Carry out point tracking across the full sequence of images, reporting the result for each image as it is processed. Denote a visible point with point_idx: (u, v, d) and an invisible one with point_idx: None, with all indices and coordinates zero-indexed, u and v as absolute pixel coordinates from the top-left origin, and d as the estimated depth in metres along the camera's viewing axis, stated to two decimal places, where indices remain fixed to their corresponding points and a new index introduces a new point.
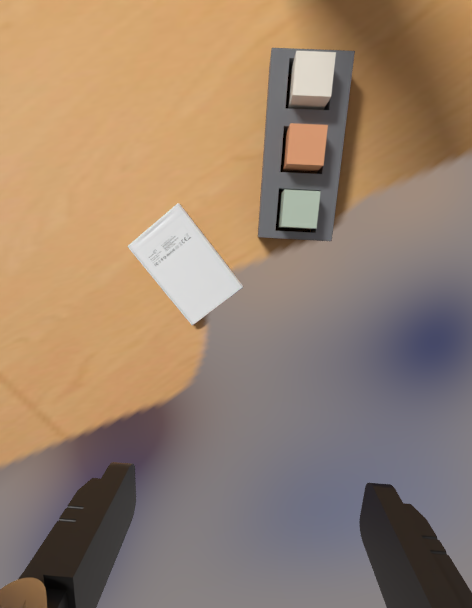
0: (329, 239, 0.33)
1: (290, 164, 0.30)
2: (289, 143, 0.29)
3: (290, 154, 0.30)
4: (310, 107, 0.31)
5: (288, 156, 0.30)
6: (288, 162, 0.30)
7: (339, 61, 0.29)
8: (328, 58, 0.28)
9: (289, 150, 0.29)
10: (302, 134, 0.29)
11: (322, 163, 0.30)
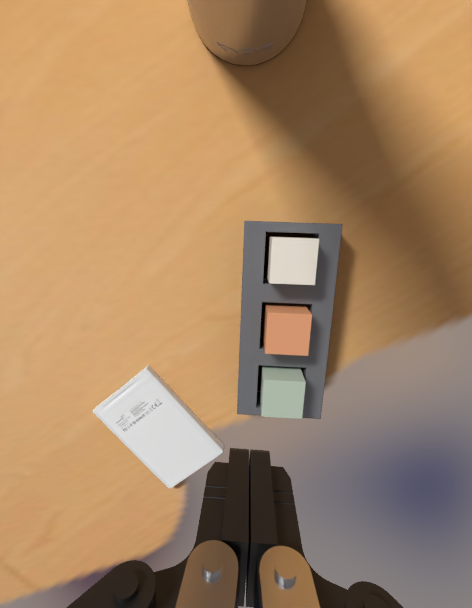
0: (318, 417, 0.29)
1: None
2: (267, 333, 0.25)
3: (269, 344, 0.25)
4: None
5: (266, 346, 0.25)
6: (267, 352, 0.25)
7: (324, 235, 0.25)
8: (310, 245, 0.23)
9: (267, 340, 0.25)
10: (282, 324, 0.25)
11: (306, 353, 0.25)
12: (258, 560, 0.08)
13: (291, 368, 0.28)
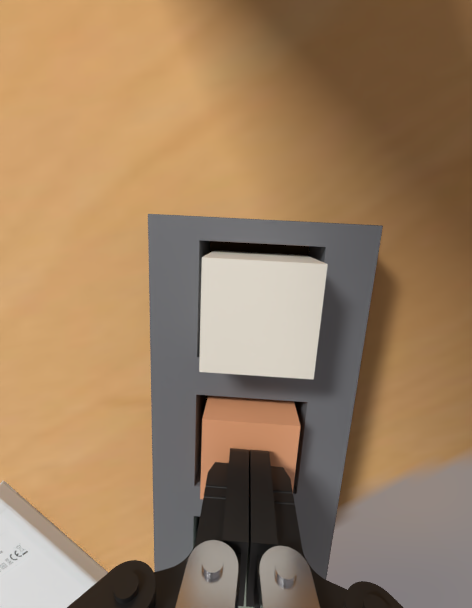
0: None
1: None
2: (203, 460, 0.12)
3: None
4: None
5: (203, 485, 0.12)
6: None
7: (339, 251, 0.10)
8: (304, 280, 0.09)
9: (204, 474, 0.12)
10: (234, 443, 0.11)
11: None
12: (258, 560, 0.08)
13: None
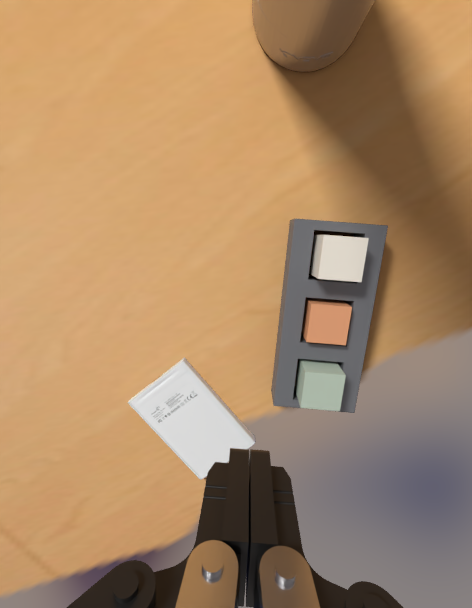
0: (352, 411, 0.30)
1: None
2: (310, 323, 0.27)
3: (311, 333, 0.27)
4: None
5: (308, 335, 0.27)
6: (308, 340, 0.28)
7: (370, 235, 0.26)
8: (360, 244, 0.24)
9: (309, 329, 0.27)
10: (324, 315, 0.27)
11: (344, 343, 0.28)
12: (258, 560, 0.08)
13: (328, 362, 0.29)
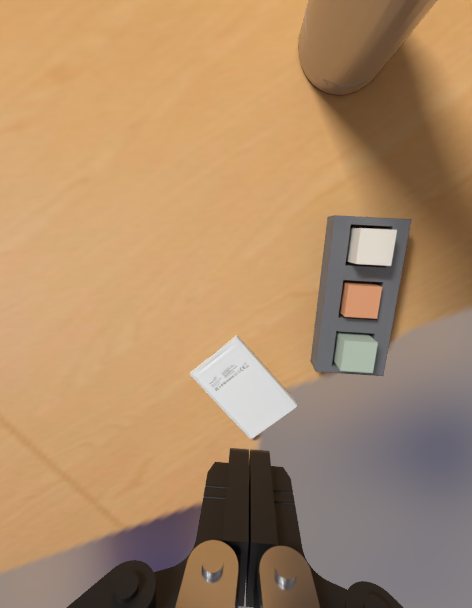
0: (381, 374, 0.36)
1: None
2: (347, 300, 0.33)
3: (348, 309, 0.33)
4: None
5: (346, 311, 0.34)
6: (346, 315, 0.34)
7: (396, 227, 0.32)
8: (390, 234, 0.30)
9: (347, 306, 0.33)
10: (359, 293, 0.33)
11: (376, 317, 0.34)
12: (258, 560, 0.08)
13: (361, 334, 0.35)
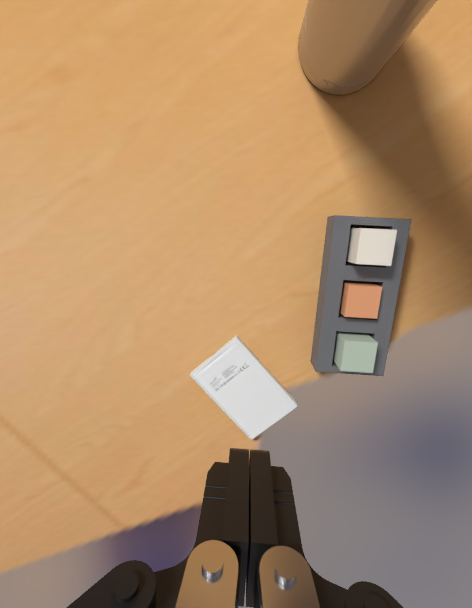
0: (381, 374, 0.36)
1: None
2: (347, 300, 0.33)
3: (348, 309, 0.33)
4: None
5: (346, 311, 0.34)
6: (346, 315, 0.34)
7: (396, 227, 0.32)
8: (390, 234, 0.30)
9: (347, 306, 0.33)
10: (359, 293, 0.33)
11: (376, 317, 0.34)
12: (258, 560, 0.08)
13: (361, 334, 0.35)
